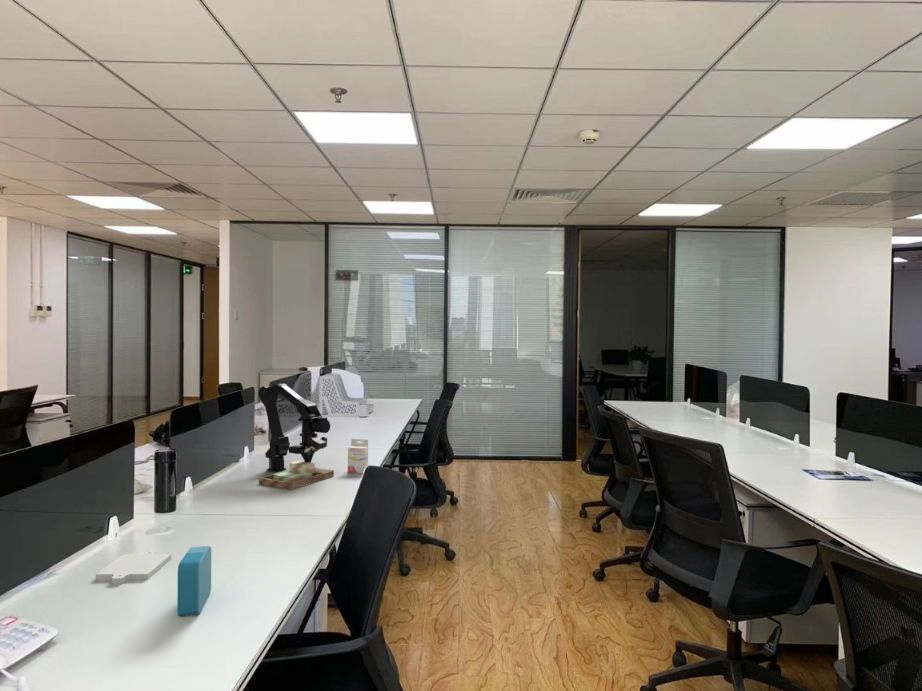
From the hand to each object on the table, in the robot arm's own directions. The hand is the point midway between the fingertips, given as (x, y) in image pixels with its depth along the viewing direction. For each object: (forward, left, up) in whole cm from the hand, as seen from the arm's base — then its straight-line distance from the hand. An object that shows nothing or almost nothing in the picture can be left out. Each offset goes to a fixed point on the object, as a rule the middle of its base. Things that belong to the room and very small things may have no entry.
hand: (308, 465), depth 251 cm
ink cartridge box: (+15, +16, -4) cm, 23 cm away
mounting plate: (+32, -99, -5) cm, 104 cm away
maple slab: (0, -4, -2) cm, 4 cm away
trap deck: (+2, -9, -4) cm, 10 cm away
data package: (+63, -104, -4) cm, 122 cm away
